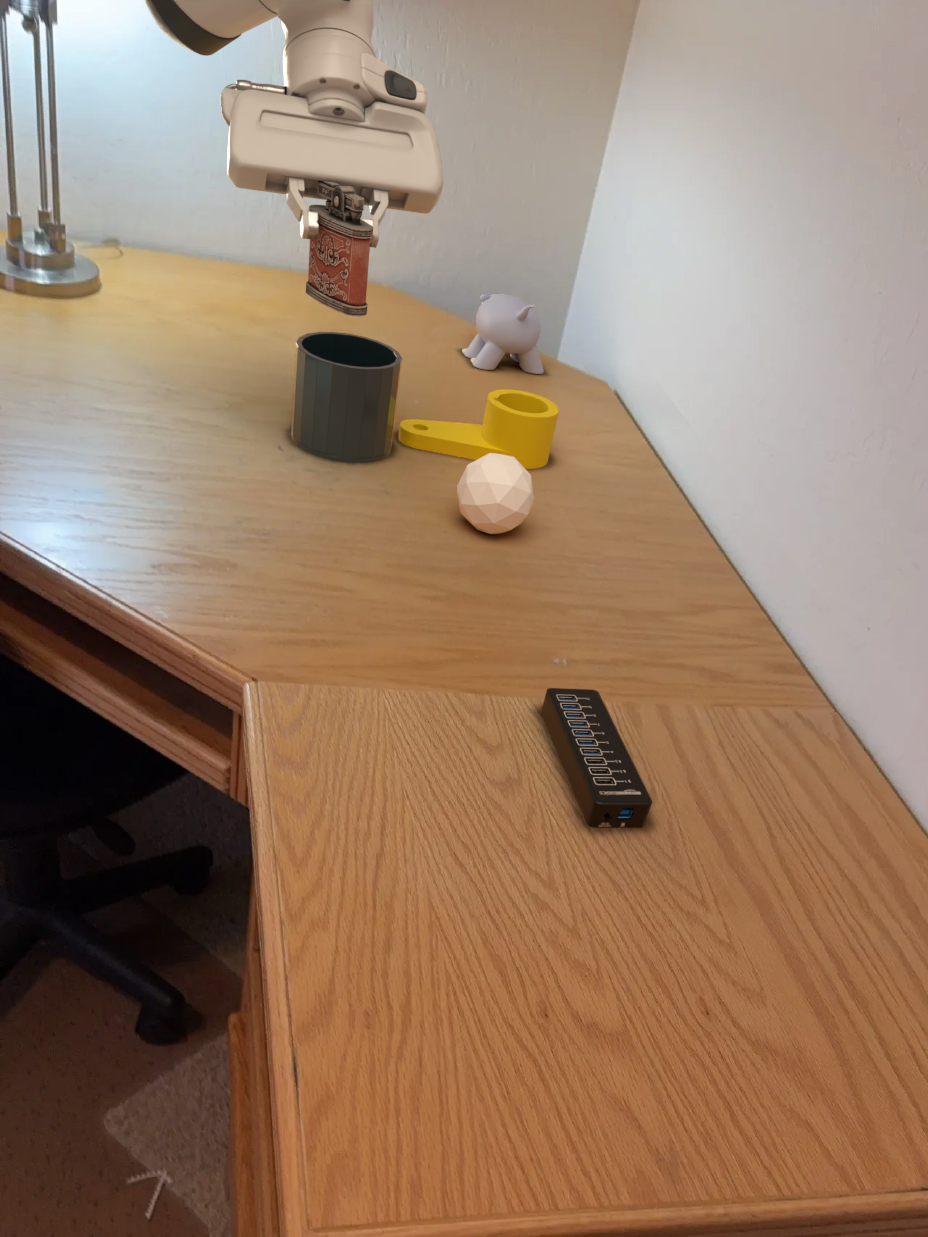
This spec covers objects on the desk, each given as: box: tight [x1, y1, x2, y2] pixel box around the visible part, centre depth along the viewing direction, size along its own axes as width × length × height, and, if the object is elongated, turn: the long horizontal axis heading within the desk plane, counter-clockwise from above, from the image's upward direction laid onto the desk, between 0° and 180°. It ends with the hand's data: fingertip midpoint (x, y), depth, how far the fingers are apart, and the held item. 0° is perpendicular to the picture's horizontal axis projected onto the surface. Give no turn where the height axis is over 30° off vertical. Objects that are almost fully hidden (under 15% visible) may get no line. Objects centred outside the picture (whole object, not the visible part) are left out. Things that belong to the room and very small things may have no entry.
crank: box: [397, 388, 560, 470], centre depth 123 cm, size 18×8×6 cm, turn 97°
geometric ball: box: [455, 453, 535, 535], centre depth 107 cm, size 8×8×8 cm
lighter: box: [305, 181, 373, 318], centre depth 101 cm, size 8×3×10 cm, turn 43°
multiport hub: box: [540, 687, 653, 829], centre depth 80 cm, size 4×14×2 cm, turn 12°
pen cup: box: [290, 331, 403, 464], centre depth 116 cm, size 11×11×10 cm
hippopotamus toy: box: [461, 293, 545, 375], centre depth 149 cm, size 11×15×10 cm
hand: (340, 239), depth 100 cm, fingers closed on lighter, 4 cm apart
